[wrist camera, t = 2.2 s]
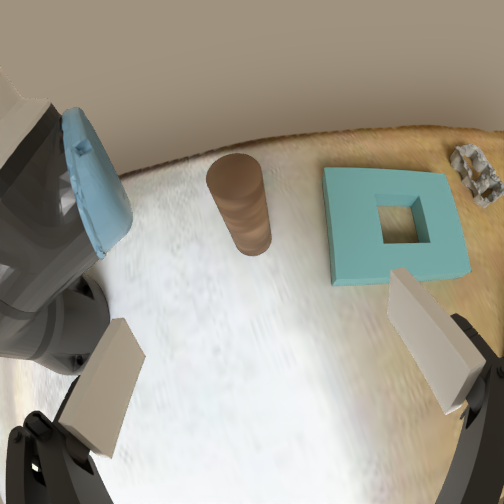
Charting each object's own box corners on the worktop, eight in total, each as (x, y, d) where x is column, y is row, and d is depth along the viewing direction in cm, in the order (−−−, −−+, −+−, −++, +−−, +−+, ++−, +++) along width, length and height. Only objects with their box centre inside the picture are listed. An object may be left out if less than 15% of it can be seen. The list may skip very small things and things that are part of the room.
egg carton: (442, 158, 34) (452, 142, 30) (467, 151, 34) (476, 137, 30) (477, 213, 30) (491, 200, 27) (499, 201, 30) (511, 189, 27)
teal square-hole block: (331, 286, 30) (336, 279, 27) (322, 180, 35) (324, 167, 32) (459, 278, 28) (471, 271, 25) (436, 185, 32) (444, 174, 30)
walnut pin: (234, 256, 32) (203, 200, 20) (235, 222, 34) (209, 155, 22) (271, 255, 32) (261, 197, 20) (271, 221, 33) (261, 151, 21)
